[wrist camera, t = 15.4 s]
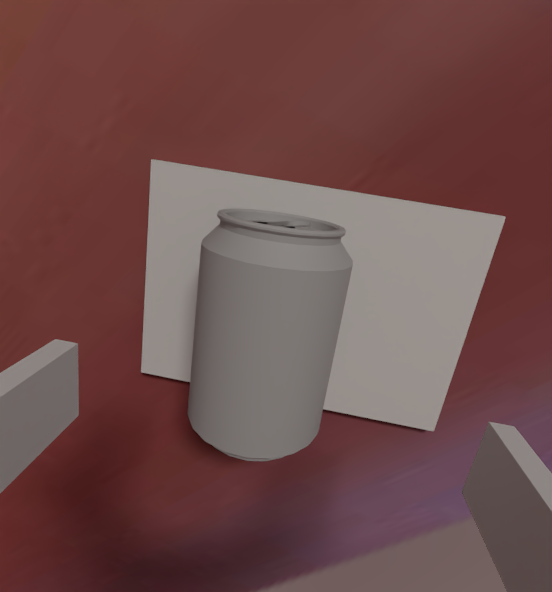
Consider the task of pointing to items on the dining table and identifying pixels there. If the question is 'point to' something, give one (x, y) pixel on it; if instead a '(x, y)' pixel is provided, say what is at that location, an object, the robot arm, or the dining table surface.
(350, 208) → the placemat
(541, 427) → the dining table surface
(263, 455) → the can
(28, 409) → the robot arm
